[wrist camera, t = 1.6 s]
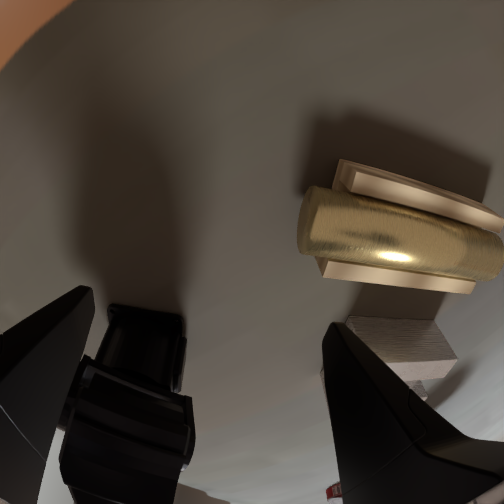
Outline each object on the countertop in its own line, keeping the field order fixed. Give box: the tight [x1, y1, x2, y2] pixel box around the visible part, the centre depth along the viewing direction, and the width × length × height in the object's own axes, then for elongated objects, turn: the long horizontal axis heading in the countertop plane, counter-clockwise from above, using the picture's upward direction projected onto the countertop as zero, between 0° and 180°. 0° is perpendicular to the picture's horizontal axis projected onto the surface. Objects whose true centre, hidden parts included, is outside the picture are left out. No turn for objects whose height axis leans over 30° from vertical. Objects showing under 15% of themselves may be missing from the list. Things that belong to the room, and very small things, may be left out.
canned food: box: [326, 483, 343, 504], centre depth 51 cm, size 11×10×10 cm
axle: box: [297, 186, 504, 281], centre depth 19 cm, size 16×4×4 cm, turn 80°
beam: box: [315, 159, 504, 294], centre depth 20 cm, size 14×7×3 cm, turn 80°
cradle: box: [320, 316, 458, 415], centre depth 26 cm, size 10×8×6 cm
